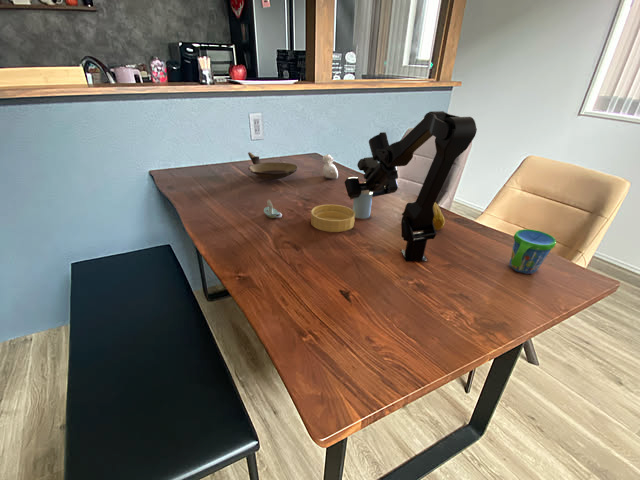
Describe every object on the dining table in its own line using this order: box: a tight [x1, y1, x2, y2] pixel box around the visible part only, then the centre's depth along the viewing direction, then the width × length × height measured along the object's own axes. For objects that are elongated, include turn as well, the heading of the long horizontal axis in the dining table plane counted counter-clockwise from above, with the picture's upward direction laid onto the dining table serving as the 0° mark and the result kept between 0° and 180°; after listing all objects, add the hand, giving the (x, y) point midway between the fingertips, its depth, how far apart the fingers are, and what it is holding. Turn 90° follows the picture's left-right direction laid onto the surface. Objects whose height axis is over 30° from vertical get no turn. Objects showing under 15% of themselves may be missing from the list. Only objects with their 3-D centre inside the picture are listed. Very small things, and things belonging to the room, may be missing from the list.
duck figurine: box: [322, 153, 339, 180], centre depth 170 cm, size 12×8×11 cm
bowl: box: [310, 204, 356, 233], centre depth 127 cm, size 15×15×4 cm
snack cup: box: [509, 228, 557, 275], centre depth 105 cm, size 16×10×10 cm
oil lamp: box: [247, 151, 299, 180], centre depth 170 cm, size 22×30×8 cm
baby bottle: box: [352, 181, 373, 220], centre depth 132 cm, size 7×7×12 cm
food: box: [433, 201, 446, 231], centre depth 133 cm, size 21×6×6 cm, turn 174°
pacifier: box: [263, 199, 283, 219], centre depth 131 cm, size 7×6×6 cm
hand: (361, 196), depth 132 cm, fingers open, 9 cm apart
